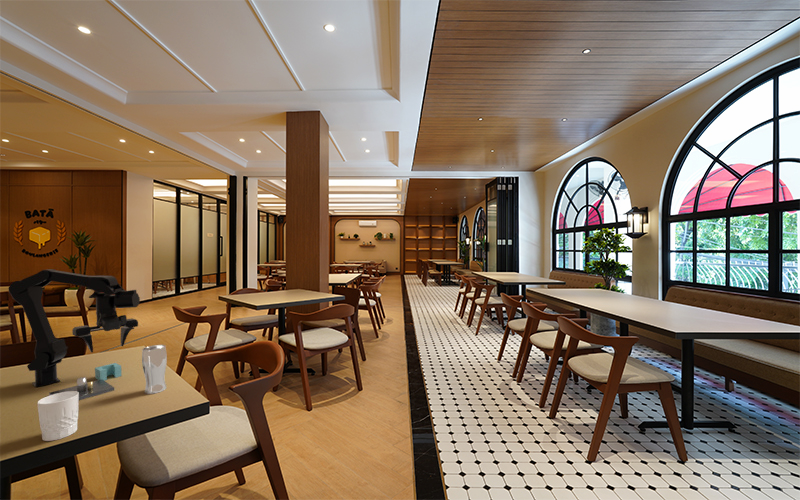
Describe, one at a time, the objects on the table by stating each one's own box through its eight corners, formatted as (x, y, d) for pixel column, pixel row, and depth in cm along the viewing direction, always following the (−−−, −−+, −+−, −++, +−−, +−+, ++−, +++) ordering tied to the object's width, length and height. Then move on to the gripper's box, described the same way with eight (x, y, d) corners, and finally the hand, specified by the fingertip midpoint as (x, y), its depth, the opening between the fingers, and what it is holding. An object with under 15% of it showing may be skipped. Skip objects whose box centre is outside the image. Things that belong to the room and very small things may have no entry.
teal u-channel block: (95, 378, 134) (94, 367, 134) (116, 372, 139) (115, 362, 139) (100, 381, 130) (100, 370, 130) (121, 376, 135) (121, 365, 135)
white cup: (87, 429, 95) (85, 392, 95) (50, 444, 88) (48, 405, 88) (68, 424, 98) (67, 389, 98) (31, 440, 91) (30, 401, 90)
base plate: (49, 395, 118) (48, 381, 118) (101, 381, 130) (101, 368, 130) (59, 405, 110) (58, 390, 110) (114, 390, 122) (113, 375, 121)
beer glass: (172, 386, 124) (171, 344, 123) (157, 394, 117) (155, 350, 116) (154, 386, 124) (152, 344, 124) (137, 394, 117) (136, 350, 117)
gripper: (79, 315, 122) (81, 359, 122) (142, 306, 137) (144, 346, 137) (71, 312, 128) (72, 354, 128) (132, 304, 143) (133, 342, 144)
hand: (107, 349), depth 134 cm, fingers open, 9 cm apart
